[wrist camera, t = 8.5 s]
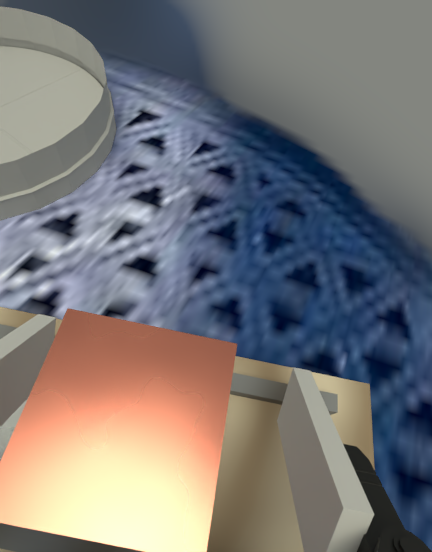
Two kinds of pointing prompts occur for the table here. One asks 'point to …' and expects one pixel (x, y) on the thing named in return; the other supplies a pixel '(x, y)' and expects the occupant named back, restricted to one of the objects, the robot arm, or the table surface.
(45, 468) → the carriage
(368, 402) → the board
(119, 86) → the table surface
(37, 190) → the dish
